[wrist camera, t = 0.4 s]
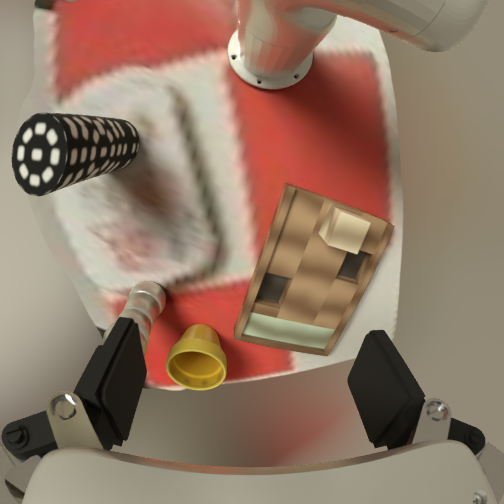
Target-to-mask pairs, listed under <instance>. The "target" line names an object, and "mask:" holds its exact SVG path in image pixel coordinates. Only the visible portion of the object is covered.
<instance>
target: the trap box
mask: <svg viewBox="0 0 504 504" xmlns="http://www.w3.org/2000/svg"><path fill="white" fill-rule="evenodd" d="M330 203H331V204H333V205H336V206H339V207H341V208H344V209H347V210H349V211H352V212H355V213H357V214H359V215H360V216H362V217H363V218H365V219H366V220H367V221H369V222H370V223H371V224H370V226H369V229H368V231H367V233H366V236H365V238H364V240H363V243H362V245H361V247H360V249H359V252H358V254H354V253H351V252H348V251H345V250H342V249H339V248H336V247H333V246H329V245H327V243H326V242H325V241H324V240H323V238H322V237H321V236H320V235H319V230H320V228H321V225H322V223H323V220H324V218H325V215H326V212H327V210H328V207H329V205H330ZM393 229H394V225H392V224H391V223H389V222H387V221H386V220H384V219H381V218H379V217H377V216H374V215H372V214H369V213H367V212H364V211H362V210H359V209H357V208H354V207H352V206H349V205H347V204H344V203H341V202H339V201H336V200H333V199H331V198H328V197H325V196H323V195H320V194H317V193H314V192H311V191H309V190H306V189H303V188H300V187H297V186H294V185H291V184H288V183H285V185H284V188H283V191H282V194H281V197H280V199H279V202H278V205H277V208H276V211H275V214H274V217H273V220H272V222H271V225H270V228H269V231H268V234H267V237H266V240H265V242H264V245H263V248H262V251H261V254H260V257H259V259H258V262H257V265H256V268H255V271H254V273H253V276H252V279H251V282H250V285H249V288H248V290H247V293H246V296H245V299H244V302H243V304H242V307H241V310H240V313H239V315H238V318H237V321H236V324H235V327H234V340H239V341H244V342H248V343H253V344H258V345H263V346H268V347H274V348H279V349H285V350H291V351H297V352H303V353H309V354H316V355H323V356H328V354H329V353H330V351H331V349H332V348H333V346H334V344H335V343H336V341H337V339H338V338H339V336H340V334H341V332H342V331H343V329H344V327H345V326H346V324H347V322H348V320H349V318H350V317H351V315H352V313H353V311H354V309H355V308H356V306H357V304H358V302H359V300H360V298H361V296H362V294H363V292H364V291H365V289H366V287H367V285H368V283H369V281H370V279H371V277H372V275H373V273H374V271H375V268H376V266H377V264H378V262H379V260H380V258H381V256H382V254H383V251H384V249H385V247H386V245H387V242H388V240H389V238H390V236H391V233H392V231H393Z"/></svg>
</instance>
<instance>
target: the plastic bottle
mask: <svg viewBox="0 0 504 504" xmlns="http://www.w3.org/2000/svg"><path fill="white" fill-rule="evenodd" d="M165 304H166V295H165V292H164V290H163V289H162V288H161V287H160V286H159V285H158V284H156V283H154V282H151V281H142V282H139V283H138V284H137V285H135V286H134V287H133V288H132V290H131V291H130V294H129V297H128V301H127V303H126V305H125V307H124V310H123V311H122V312H121V314H120V315H119V317H126V318H132V319H133V320H134V322H135V323H138V326H139V332H140V338H141V343H142V349H143V354H144V356H145V354H146V351H147V347H148V341H149V336H150V332H151V329H152V326H153V324H154V322H155V321H156V319H157V317H158V316H159V315H160V314H161V312H162V311H163V309H164V308H165ZM119 317H118V318H119ZM118 318H117V319H118ZM117 319H116V320H115V321H114V323H113V324H112V325H111V326H110V327H109V328H108V329H107V331H106V332H105V334H104V338H103V344H104V342H105V340H106V339H107V337H108V335H109V333H110V331H111V330H112V328H113V326H114V324H115V323H116V321H117Z"/></svg>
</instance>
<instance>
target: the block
mask: <svg viewBox="0 0 504 504" xmlns="http://www.w3.org/2000/svg"><path fill="white" fill-rule="evenodd" d="M370 224H371V223H370V222H369V221H367V220H366V219H365V218H363V217H362V216H360V215H359V214H357V213H355V212H352V211H349V210H347V209H344V208H341V207H339V206H336V205H333V204H331V203H330V205H329V207H328V210H327V212H326V215H325V218H324V220H323V223H322V225H321V228H320V230H319V235H320V236H321V237H322V238H323V240H324V241H325V242H326V243H327V245H329V246H333V247H336V248H339V249H342V250H345V251H348V252H351V253H354V254H358V252H359V249H360V247H361V245H362V243H363V240H364V238H365V236H366V233H367V231H368V229H369V226H370Z"/></svg>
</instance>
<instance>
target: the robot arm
mask: <svg viewBox="0 0 504 504" xmlns="http://www.w3.org/2000/svg"><path fill="white" fill-rule="evenodd" d="M488 1H489V0H238V29H237V30H236V31H235V32H234V33H233V35H232V37H231V39H230V41H229V44H228V59H229V62H230V65H231V67H232V69H233V71H234V72H235V73H236V74H237V75H238V77H240V78H241V79H242V80H243V81H245V82H246V83H248V84H250V85H252V86H255V87H258V88H262V89H270V90H276V89H283V88H286V87H289V86H292V85H294V84H295V83H297V82H299V81H300V80H301V79H302V78H303V77H304V76H305V75H306V74H307V72H308V71H309V69H310V67H311V64H312V60H313V50H314V49H315V47H316V46H317V45H318V44H319V43H320V42H321V41H322V40H323V38H324V37H325V36H326V35H327V34H328V33H329V32H330V31H331V29H332V28H333V26H334V24H335V22H336V19H337V15H340V16H343V17H349V18H351V19H354V20H357V21H359V22H362V23H364V24H367V25H369V26H372V27H374V28H376V29H378V30H381V31H383V32H385V33H387V34H390V35H392V36H394V37H396V38H398V39H400V40H402V41H404V42H406V43H408V44H411V45H413V46H415V47H417V48H420V49H422V50H426V51H431V52H443V51H447V50H450V49H452V48H454V47H456V46H457V45H459V44H460V43H461V42H462V41H463V40H464V39H465V38H466V37H467V36H468V35H469V34H470V32H471V31H472V30H473V28H474V27H475V25H476V24H477V22H478V20H479V18H480V16H481V15H482V13H483V11H484V9H485V7H486V5H487V3H488ZM232 58H236V59H235V60H233V59H232ZM294 76H296V77H297V79H295V78H294ZM259 81H260V82H261V84H258V82H259ZM146 374H147V370H146V364H145V359H144V354H143V349H142V343H141V338H140V332H139V326H138V323H135V322H134V320H133V319H132V318H126V317H119V318H118V319H117V321H116V323H115V324H114V326H113V328H112V330H111V331H110V333H109V335H108V337H107V339H106V340H105V342H104V344H103V346H102V345H100V346H98V347H97V348H96V350H95V352H94V354H93V356H92V357H91V360H90V361H89V363H88V365H87V367H86V368H85V371H84V373H83V374H82V376H81V378H80V380H79V382H78V384H77V386H76V388H75V390H74V392H73V393H71V392H66V391H63V392H58V393H56V394H54V395H53V396H52V397H51V398H50V399H49V400H48V402H47V406H46V409H47V410H46V411H43V412H40V413H38V414H35V415H32V416H29V417H26V418H23V419H20V420H17V421H14V422H11V423H9V424H8V425H7V426H6V427H5V428H4V429H3V431H2V439H1V440H0V504H499V502H500V500H501V498H502V496H503V494H504V454H503V453H502V452H501V451H499V450H498V449H497V448H496V447H494V446H493V445H491V444H490V443H489V442H488V443H487V444H485V437H484V435H483V433H482V432H481V431H480V430H479V429H478V428H476V427H473V426H471V425H468V424H466V423H463V422H461V421H459V420H456V419H454V418H451V410H450V407H449V406H448V405H447V404H446V403H445V402H444V401H442V400H440V399H437V398H431V399H428V400H427V401H425V399H424V397H425V395H424V393H423V391H422V390H421V388H420V386H419V384H418V383H417V381H416V379H415V378H414V376H413V375H412V373H411V371H410V370H409V368H408V366H407V365H406V363H405V362H404V360H403V358H402V357H401V355H400V354H399V352H398V351H397V349H396V347H395V346H394V345H393V343H392V341H391V340H390V338H389V337H388V335H387V334H386V332H385V331H384V330H372V331H370V332H369V334H367V335H366V336H365V338H364V341H363V343H362V346H361V348H360V351H359V353H358V355H357V358H356V360H355V362H354V365H353V367H352V369H351V371H350V374H349V376H348V385H349V388H350V391H351V393H352V395H353V398H354V401H355V404H356V406H357V409H358V411H359V414H360V417H361V419H362V422H363V425H364V428H365V430H366V433H367V436H368V439H369V441H370V442H371V443H373V444H374V447H375V448H378V447H382V446H387V448H388V450H387V451H383V452H378V453H374V454H370V455H365V456H360V457H355V458H350V459H345V460H338V461H332V462H325V463H317V464H308V465H298V466H285V467H257V468H256V467H255V468H253V467H252V468H251V467H248V468H247V467H244V468H243V467H216V466H203V465H192V464H184V463H176V462H169V461H162V460H155V459H150V458H144V457H139V456H134V455H129V454H124V453H119V452H114V451H110V449H112V446H113V444H114V445H118V446H122V443H123V440H125V441H126V440H127V439H128V436H129V432H130V429H131V425H132V422H133V418H134V415H135V411H136V408H137V405H138V401H139V398H140V394H141V391H142V388H143V385H144V382H145V379H146ZM26 488H27V489H26ZM25 491H26V492H25Z"/></svg>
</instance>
